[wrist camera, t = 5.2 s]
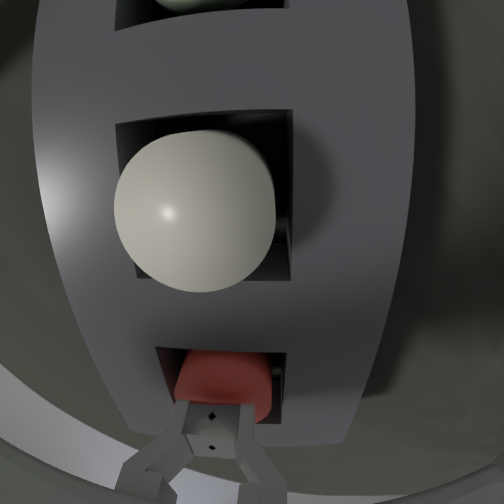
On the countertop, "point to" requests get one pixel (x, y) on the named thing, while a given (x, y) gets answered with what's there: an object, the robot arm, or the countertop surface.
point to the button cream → (197, 209)
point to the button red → (227, 378)
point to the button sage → (198, 5)
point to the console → (298, 192)
